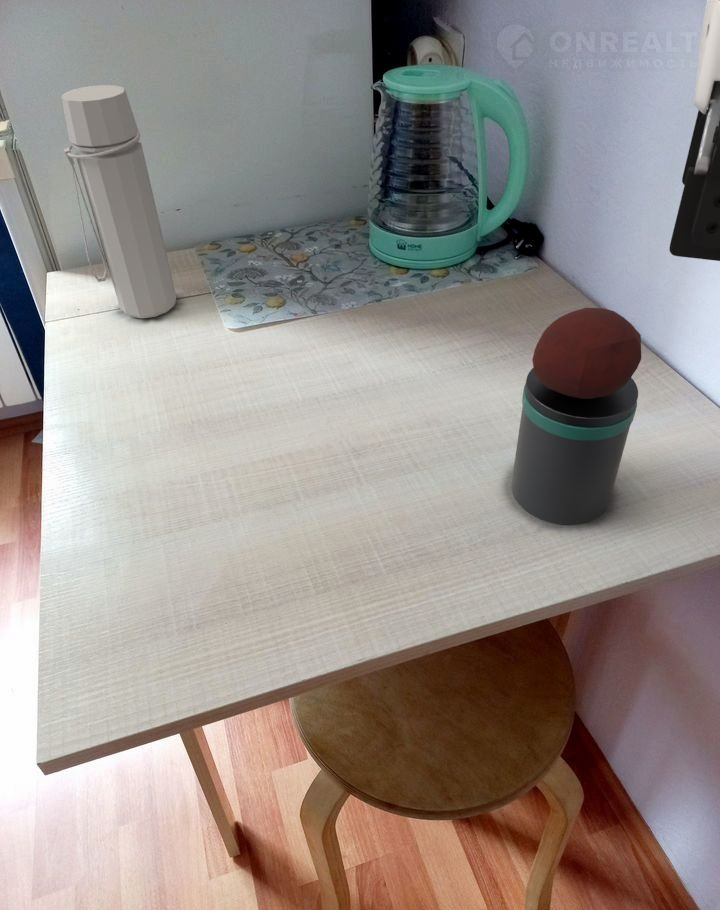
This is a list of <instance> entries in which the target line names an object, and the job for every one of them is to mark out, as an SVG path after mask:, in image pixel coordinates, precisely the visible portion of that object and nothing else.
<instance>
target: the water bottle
mask: <svg viewBox="0 0 720 910" xmlns="http://www.w3.org/2000/svg"><path fill="white" fill-rule="evenodd" d="M61 102H62V109H63V113H64V118H65V119H64V120H65V123H66V129H67V135H68V139H69V142H70V143H71V144H70V145H68V147H66V148H64V149H63V152H64V153H65V156H66V157H67V159H68V161H69V163H70V167H71V172H72V179H73V184H74V190H75V195H76V200H77V207H78V212H79V217H80V222H81V228H82V229H81V230H82V234H83V239H84V245H85V253H86V256H87V257H86V258H87V262H88V264H89V267H90V269H91V271H92V274H93V276H94V278H95V279H96V281H97V283H100V282H106V281H107V278H108V272H109V275H110V278H111V283H112V286H113V289H114V293H115V296H116V300H117V303H118V306H119V309H120V310H121V311H122V312H123V313H125V314H126V315H128V316H129V317H130V318H136V319H149V318H155V317H159V316H161V315H164V314H166V313H168V312H169V311H170V310H171V309H173V307H175V305H176V303H177V293H176V288H175V284H174V280H173V276H172V271H171V267H170V262H169V257H168V254H167V249H166V245H165V241H164V236H163V231H162V228H161V224H160V218H159V215H158V209H157V206H156V200H155V198H154V193H153V187H152V183H151V180H150V175H149V171H148V170H149V169H148V166H147V162H146V158H145V153H144V149H143V145H142V142H140V139H141V131H140V130H139V129H138V125H137V122H136V119H135V116H134V113H133V110H132V107H131V103H130V101H129V98H128V94H127V91H126V89H125V87H122V86H120V85H114V84H99V85H88V86H83V87H79V88H74V89H71V90H68V91H66V92H64V93H63V94H62V95H61ZM73 148H74V149H75V150H76V152H75V153H74V154H73V153H72V152H71V150H72V149H73ZM74 159H76V162H77V164H78V167H79V172H80V175H81V179H82V182H83V185H84V189H85V193H86V196H87V199H88V203H89V206H90V209H91V213H92V217H91V213H90V211H89V207H88V205H87V202H86V198H85V196H84V192H83V190H82V186H81V184H80V180H79V178H78V175H77V171H76V168H75V160H74ZM76 182H77V183H76ZM77 185H78V187H77ZM78 188H79V191H80V194H81V197H82V200H83V203H84V206H85V210H86V212H87V216H88V218H89V222H90V225H91V228H92V232H93V235H94V236H95V241H96V244H97V247H98V250H99V253H100V256H101V259H102V263H103V266H104V273H103V276H101V277H98V275H97V274H96V273H95V270H94V268H93V266H92V263H91V259H90V258H91V257H90V253H89V247H88V241H87V237H86V236H87V235H86V231H85V225H84V221H83V215H82V211H81V210H82V209H81V205H80V204H81V203H80V198H79V193H78ZM92 218H93V220H94V223H93V220H92ZM94 224H95V226H96V229H95V226H94ZM97 234H98V235H97Z"/></svg>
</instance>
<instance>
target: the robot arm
mask: <svg viewBox="0 0 720 910" xmlns="http://www.w3.org/2000/svg"><path fill="white" fill-rule="evenodd" d="M703 15H704V16H703V21H702V28H701V36H700V43H699V44H700V45H699V52H698V60H697V67H696V68H697V69H696V79H695V91H694V102H693V105H694V106H695V107H696V108H697V110H698V111H697V114H696V118H695V119H696V120H695V123H694V128H693V132H692V134H691V135H692V136H691V140H690V143H689V148H688V152H687V156H686V161H685V165H684V169H683V173H682V178H681V182H682V184H683V189H682V194H681V198H680V202H679V205H678V210H677V215H676V217H675V218H676V219H675V222H674V227H673V231H672V235H671V239H670V242H669V249H668V250H669V253H670V254H671V255H672V256H674V257H679V258H680V257H681V258H687V259H697V260H708V261H716V262H720V0H706V3H705V10H704V14H703Z"/></svg>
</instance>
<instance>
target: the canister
mask: <svg viewBox="0 0 720 910" xmlns="http://www.w3.org/2000/svg"><path fill="white" fill-rule="evenodd" d="M521 397H522V398H521V406H522V407H521V415H520V421H519V429H518V435H517V442H516V448H515V449H516V450H515V457H514V463H513V471H512V479H511V491H512V495H513V497H514V499H515V500H516V502H517V504H518V505H519V506H520V507H521V508H523V510H524V511H526V512H527V513H528V514H530V515H532V516H534V517H535V518H538V519H540V520H543V521H545V522H549V523H553V524H557V525H571V526H572V525H581V524H585V523H588V522H591V521H593V520H596V519H597V518H599V517H600V516H602V514H604V513H605V512H606V511H607V509H608V507H609V506H610V502H611V499H612V494H613V490H614V486H615V483H616V480H617V476H618V473H619V468H620V465H621V461H622V457H623V454H624V449H625V447H626V442H627V439H628V436H629V432H630V428H631V425H632V424H633V421H634V418H635V415H636V411H637V407H638V398H639V389H638V385H637V383H636V381H635V380H634V379H633V378H632V377H631V378H630V379H629V381H628V382H627V383H626V385H625V386H623V387H622V388H620V389H619V390H617V391H616V392H614V393H612V394H610V395H608V396H603V397H597V398H592V399H581V398H575V397H571V396H567V395H564V394H561V393H559V392H556V391H554V390H551V389H549V388H547V387H546V386H545V385H544V384H543V383H542V382H541V381H540V380H539V379H538V378H537V377H536V376H535V372H534V367H532V368H531V369H530V370H529V372H528V373H527V376H526V379H525V383H524V386H523V390H522V396H521Z"/></svg>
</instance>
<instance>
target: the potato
mask: <svg viewBox="0 0 720 910" xmlns="http://www.w3.org/2000/svg"><path fill="white" fill-rule="evenodd" d="M641 361H642V338H641V333H640V332H639V331H638V330H637V329H636V328H635V325H633V324H632V323H631V322H630V321H629V320H628V319H626V318H625V317H624V316H622V315H621V314H619V313H617V312H616V311H615V310H610V309H608V308H604V307H603V308H602V307H584V308H580V309H575V310H574V311H570V312H568V313H566V314H563V315H561V316H560V317H558V318H557V319H556V320H553V322H551V323H550V324H549V325H548V326H547V327H546V328H545V330H543V333H541V335H540V338H539V339H538V341H537V343H536V345H535V348H534V351H533V355H532V366H533V367H532V368H534V372H535V376H536V377H537V378H538V379H539V380H540V381H541V382H542V383H543V384H544V385H545V386H546V387H547V388H549V389H551V390H554V391H556V392H559V393H561V394H564V395H567V396H571V397H575V398H581V399H592V398H597V397H603V396H608V395H610V394H612V393H614V392H616V391H617V390H619V389H620V388H622V387H623V386H625V385H626V383H627V382H628V381H629V379H630V378H632V377H633V375H634V374H635V372H636V371H637V370H638V368H639V366H640V363H641Z"/></svg>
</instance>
